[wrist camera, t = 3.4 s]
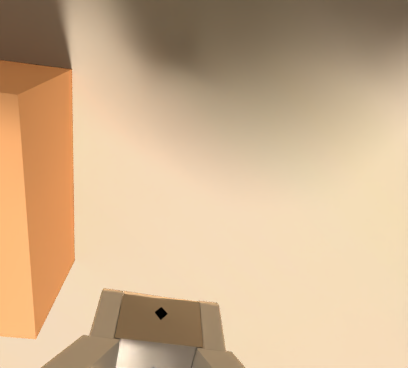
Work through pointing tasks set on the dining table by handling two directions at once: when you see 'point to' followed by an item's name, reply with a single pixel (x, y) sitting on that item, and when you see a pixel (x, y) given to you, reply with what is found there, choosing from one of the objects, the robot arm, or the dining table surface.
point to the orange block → (34, 193)
